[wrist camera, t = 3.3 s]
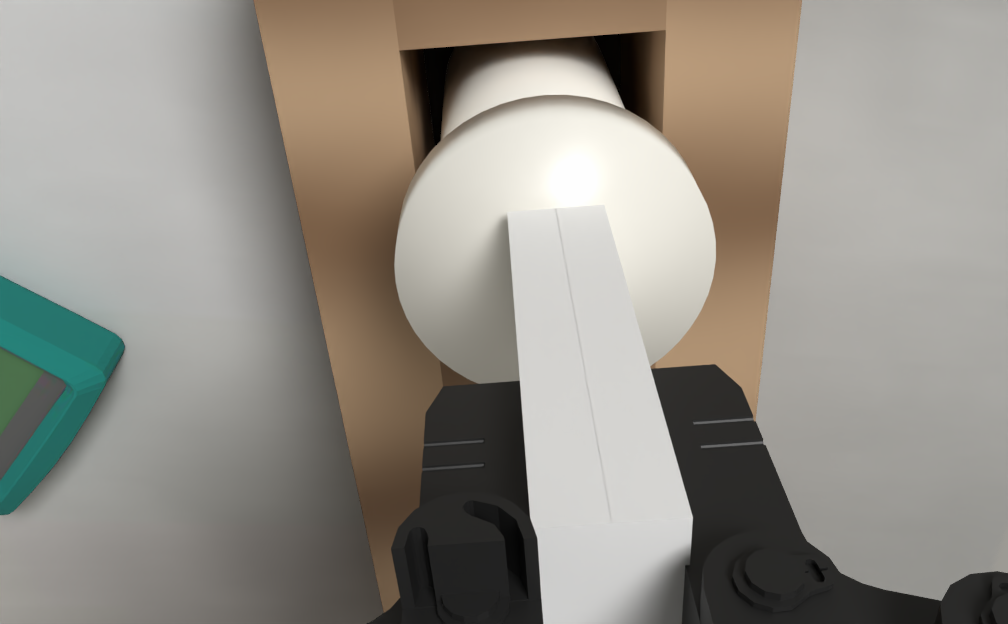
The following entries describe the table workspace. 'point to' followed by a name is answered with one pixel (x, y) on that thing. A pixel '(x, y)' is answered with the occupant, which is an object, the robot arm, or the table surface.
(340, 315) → the board
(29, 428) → the digital multimeter
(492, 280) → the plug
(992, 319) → the table surface
